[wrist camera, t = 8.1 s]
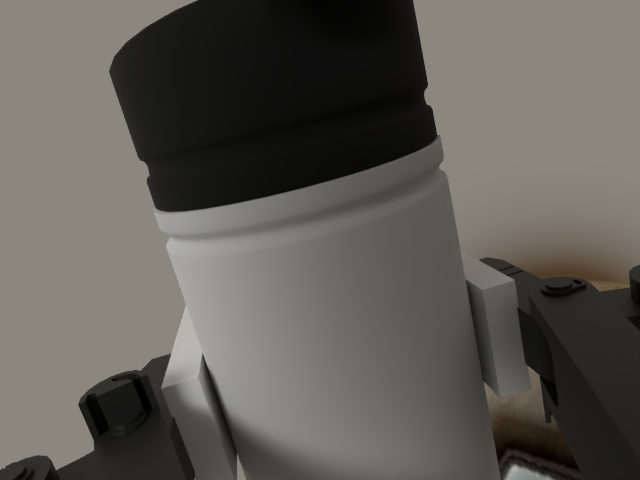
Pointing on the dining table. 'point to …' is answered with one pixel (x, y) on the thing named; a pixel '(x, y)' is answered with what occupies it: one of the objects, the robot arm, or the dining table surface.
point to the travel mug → (313, 235)
